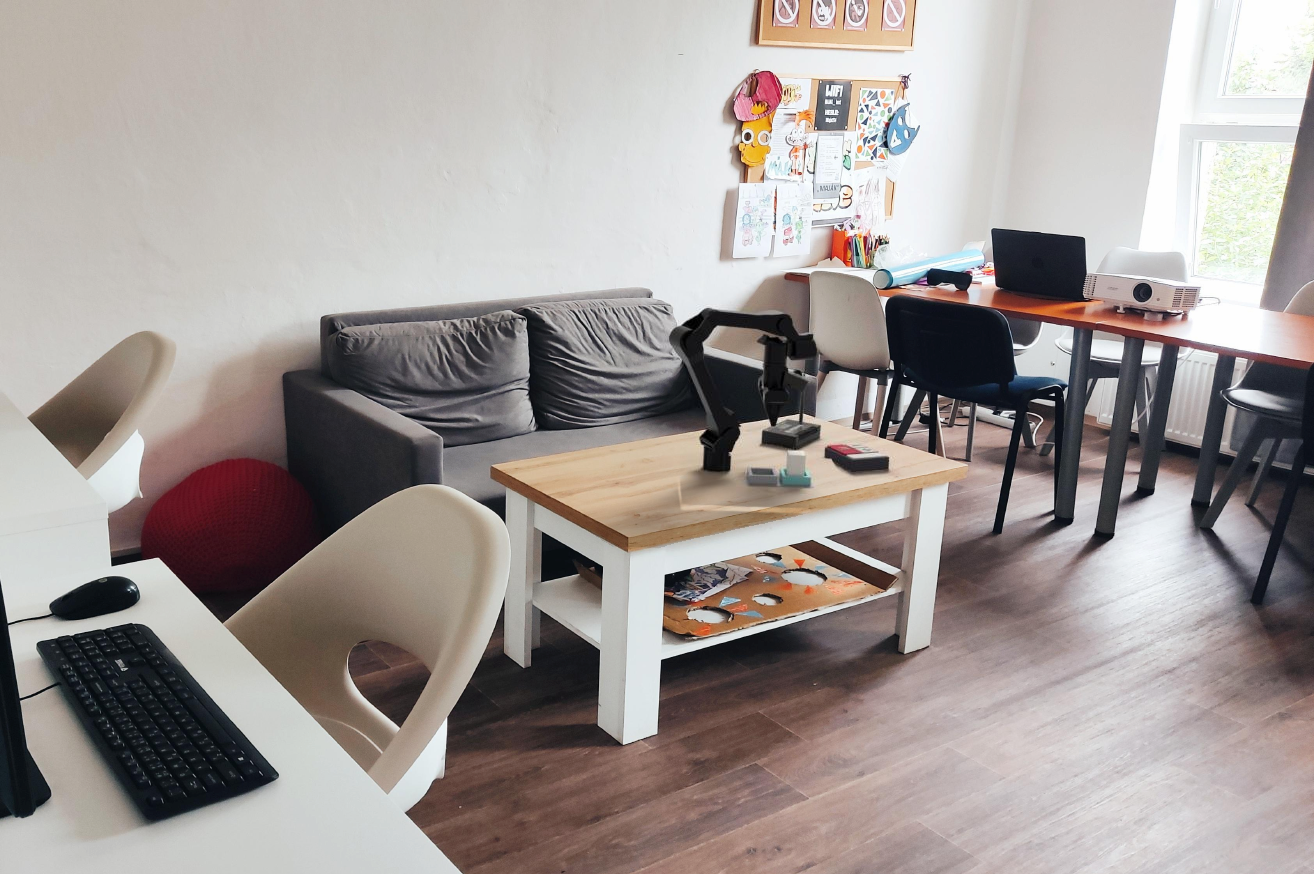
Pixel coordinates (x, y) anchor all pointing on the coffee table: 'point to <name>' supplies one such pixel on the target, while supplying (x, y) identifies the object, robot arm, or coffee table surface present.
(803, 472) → the plug
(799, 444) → the black antenna base
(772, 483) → the compartment tray
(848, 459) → the calculator
